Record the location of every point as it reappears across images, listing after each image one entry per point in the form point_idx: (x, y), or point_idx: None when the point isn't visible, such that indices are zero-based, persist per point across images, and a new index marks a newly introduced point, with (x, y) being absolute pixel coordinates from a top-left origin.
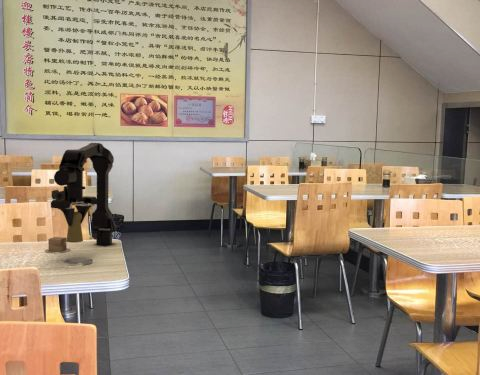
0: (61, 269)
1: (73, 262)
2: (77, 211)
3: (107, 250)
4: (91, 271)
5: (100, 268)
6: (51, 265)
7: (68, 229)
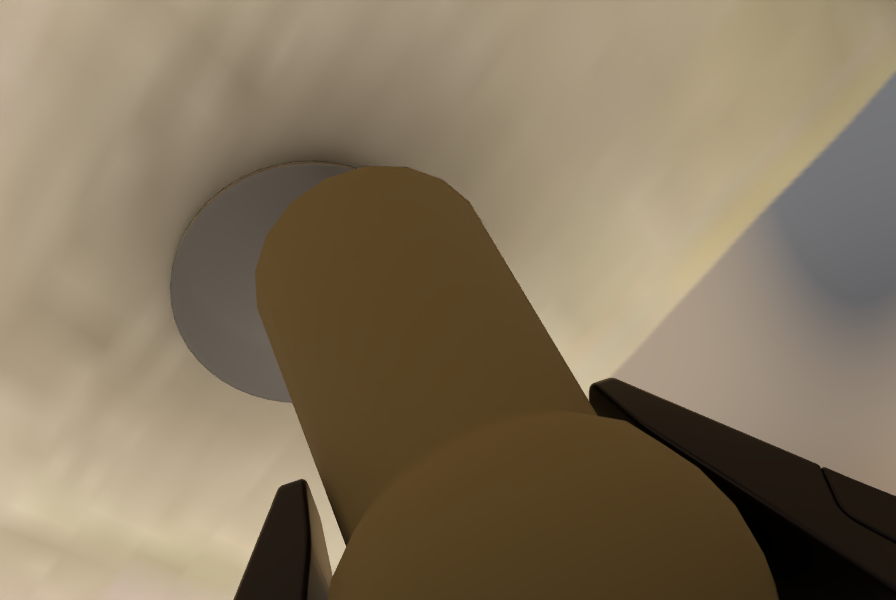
0: (45, 397)
1: (244, 311)
2: (885, 589)
3: (793, 70)
4: (230, 547)
5: (328, 513)
6: (13, 204)
7: (301, 387)
